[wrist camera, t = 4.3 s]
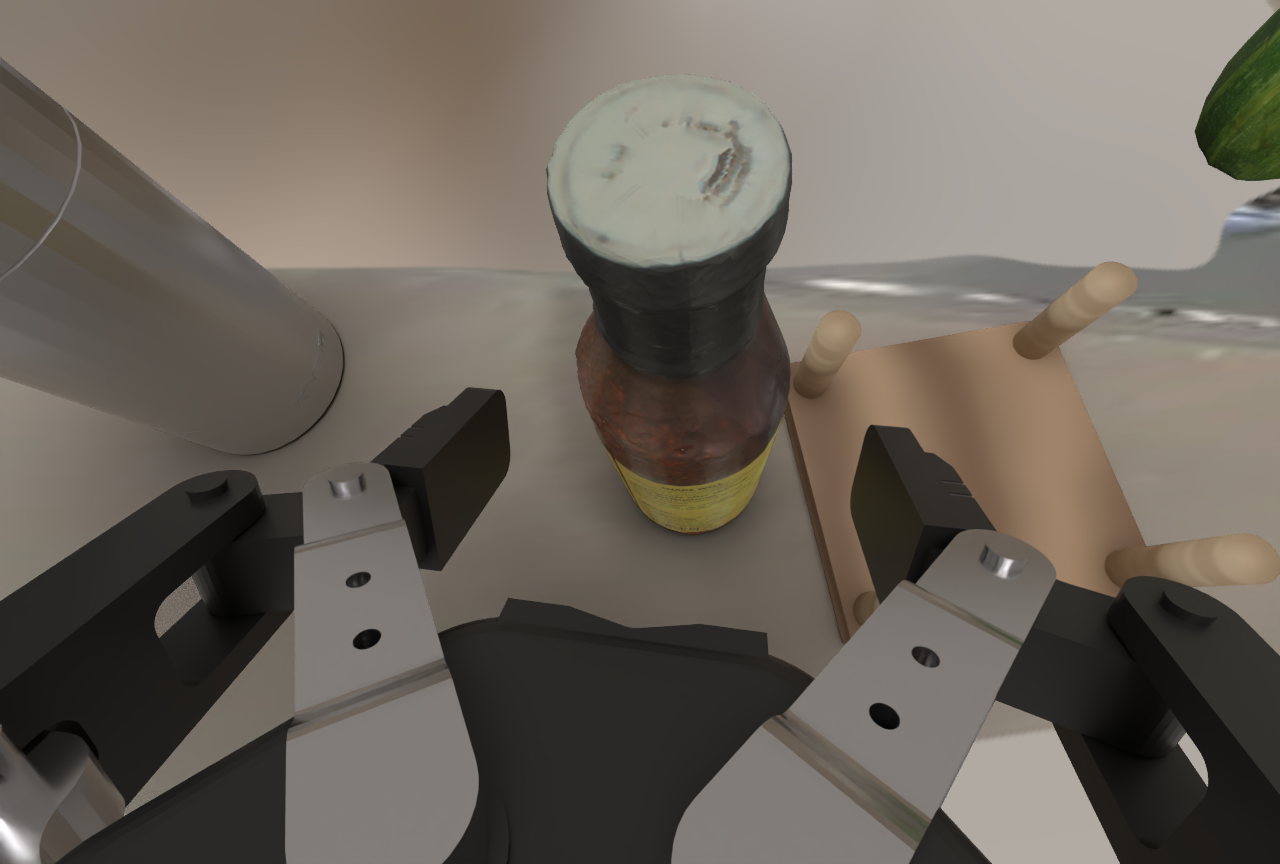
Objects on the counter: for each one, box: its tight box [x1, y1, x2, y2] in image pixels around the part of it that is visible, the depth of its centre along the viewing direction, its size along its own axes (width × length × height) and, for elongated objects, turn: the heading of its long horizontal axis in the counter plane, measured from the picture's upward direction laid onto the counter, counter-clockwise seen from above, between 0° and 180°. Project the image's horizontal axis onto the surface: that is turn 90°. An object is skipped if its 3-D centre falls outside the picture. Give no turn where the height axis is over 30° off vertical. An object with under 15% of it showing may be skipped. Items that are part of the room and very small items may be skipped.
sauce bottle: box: [546, 74, 792, 534], centre depth 18 cm, size 6×6×20 cm
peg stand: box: [784, 262, 1280, 644], centre depth 23 cm, size 13×13×7 cm
